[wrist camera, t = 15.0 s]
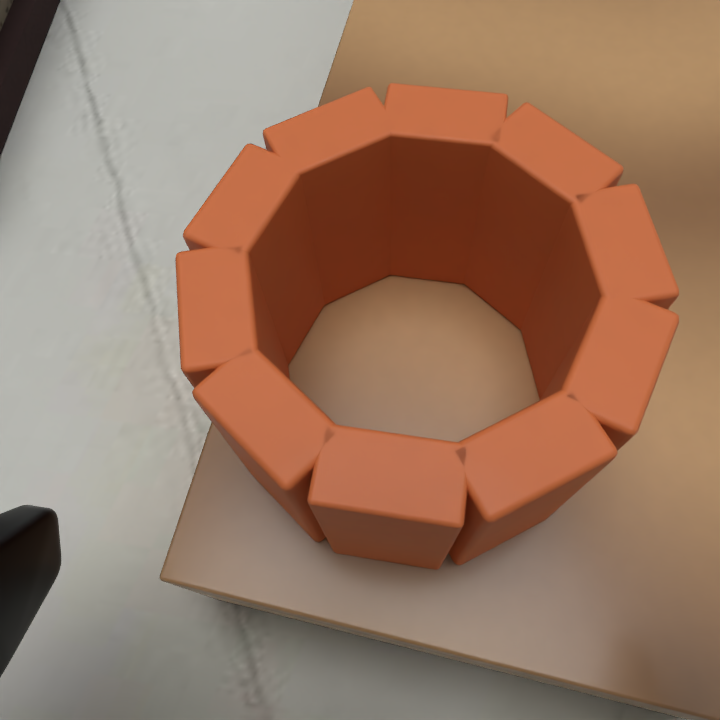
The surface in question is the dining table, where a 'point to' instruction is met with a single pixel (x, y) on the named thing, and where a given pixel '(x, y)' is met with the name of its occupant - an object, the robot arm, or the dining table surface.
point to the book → (19, 51)
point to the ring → (432, 262)
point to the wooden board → (518, 380)
